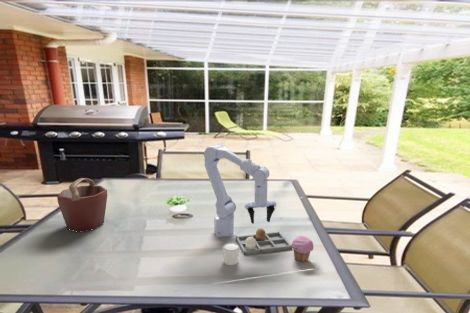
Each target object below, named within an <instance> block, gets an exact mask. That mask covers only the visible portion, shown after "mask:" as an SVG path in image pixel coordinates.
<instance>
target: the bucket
mask: <svg viewBox="0 0 470 313" xmlns="http://www.w3.org/2000/svg"><path fill="white" fill-rule="evenodd" d="M83 181H85V182H87V183H88V184H89V185H80V186H79V184H80V183H81V182H83ZM56 200H57V205H58V206H59V209H60V212H61V214H62V217H63V220H64V223H65V226H66V228H67V230H68V229H70V230H74V231H77V232H76V233H78V232H80V231H85V232H87V231H86V230H91V229H95V228H97V227H98V228H100V227H101V226H102V224H103V223H104V224H105V217H106V210H107V209H106V208H107V201H108V190H107V189H106V187H104V186H102V185H96V184H95V182H94V180H93V179H90V178H87V177H85V178H84V177H80V178H78V179H76V180H74V181H73V182H72V183H71V184H70V185H69V186H68V188H67V189H63V190H62V191H60V193H59V194H58V195H57V196H56ZM104 224H103V225H104ZM100 225H101V226H100ZM99 226H100V227H99ZM98 228H97V229H98ZM70 230H69V231H70ZM95 230H96V229H95ZM74 231H73V232H74ZM91 231H92V230H91ZM80 233H81V232H80Z"/></svg>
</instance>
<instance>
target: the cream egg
mask: <svg viewBox="0 0 470 313" xmlns="http://www.w3.org/2000/svg"><path fill="white" fill-rule="evenodd" d="M255 249H256V241H255V239H254V238H253V237H248V238H247V239H246V251H247V250H255Z"/></svg>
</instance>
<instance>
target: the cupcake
mask: <svg viewBox="0 0 470 313" xmlns="http://www.w3.org/2000/svg"><path fill="white" fill-rule="evenodd" d="M291 246H292V250H293V257H294V260H295V261H299V262H302V263H303V262H307V261H308V260H309V259H310V255H311V253H312V251H313V250H314V243H313V240H312V239H310V238H308V236H304V235H298V236H296V237H295V239H293V240H292V242H291Z"/></svg>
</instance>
